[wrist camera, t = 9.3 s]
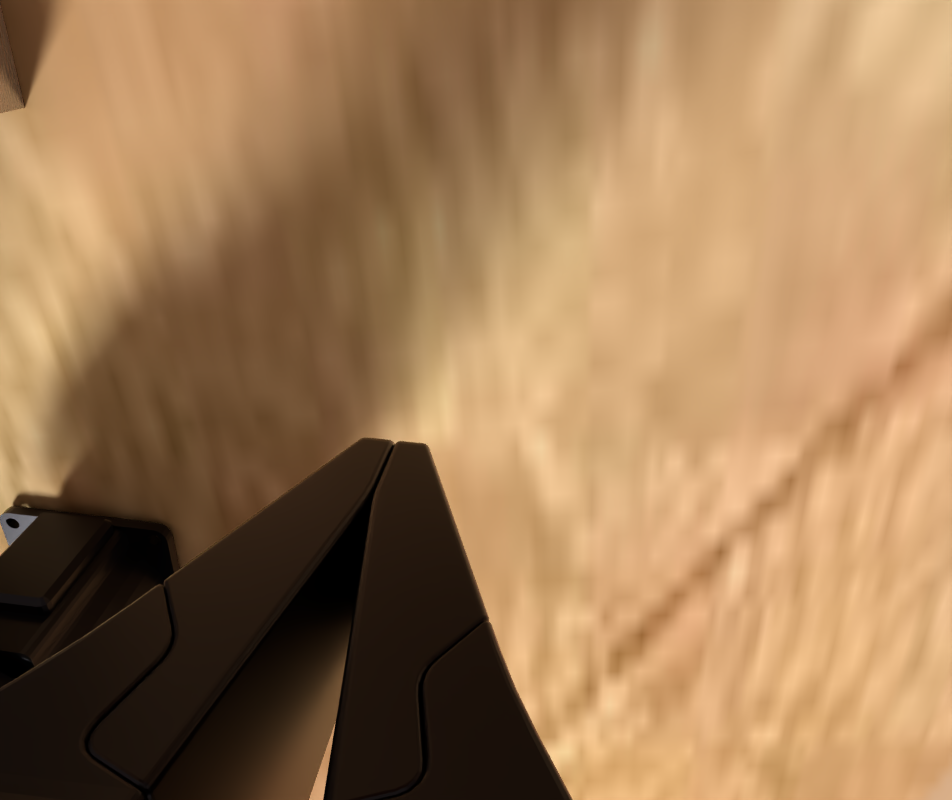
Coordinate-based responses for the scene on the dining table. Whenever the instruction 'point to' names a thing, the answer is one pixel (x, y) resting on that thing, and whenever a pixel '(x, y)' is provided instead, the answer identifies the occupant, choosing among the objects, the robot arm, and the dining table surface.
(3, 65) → the grey square frame
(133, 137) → the dining table surface
